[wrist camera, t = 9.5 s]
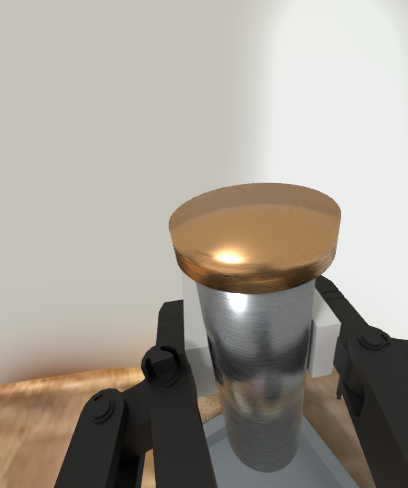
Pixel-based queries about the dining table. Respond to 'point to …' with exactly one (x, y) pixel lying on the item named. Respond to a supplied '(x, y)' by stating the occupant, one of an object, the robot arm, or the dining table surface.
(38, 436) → the dining table surface
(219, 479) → the tray
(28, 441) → the dining table surface
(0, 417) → the dining table surface
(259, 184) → the pin
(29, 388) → the dining table surface
